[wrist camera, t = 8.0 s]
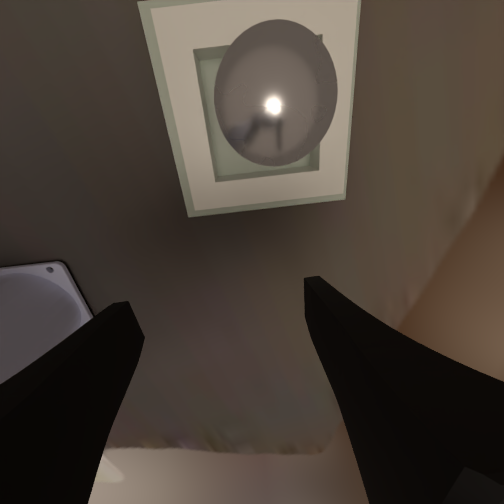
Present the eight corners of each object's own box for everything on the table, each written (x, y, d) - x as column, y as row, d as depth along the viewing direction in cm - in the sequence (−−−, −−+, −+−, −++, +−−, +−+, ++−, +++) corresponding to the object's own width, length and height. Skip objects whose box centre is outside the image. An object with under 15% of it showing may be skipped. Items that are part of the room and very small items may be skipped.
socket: (191, 213, 17) (182, 228, 15) (144, 11, 12) (118, -22, 10) (339, 195, 17) (358, 207, 15) (354, -14, 12) (385, -53, 10)
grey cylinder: (232, 156, 15) (227, 174, 9) (219, 79, 13) (200, 31, 7) (296, 146, 15) (336, 156, 9) (291, 67, 13) (339, 7, 7)
